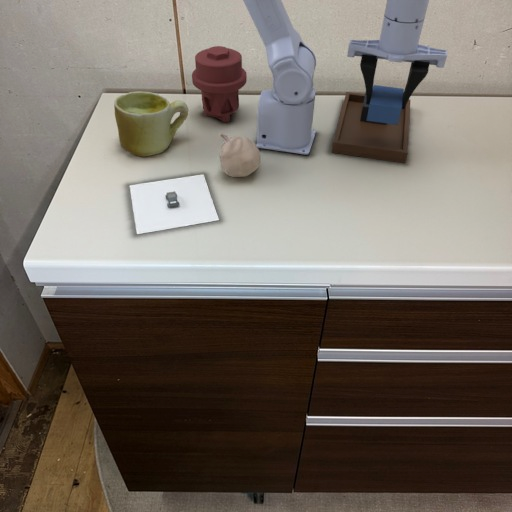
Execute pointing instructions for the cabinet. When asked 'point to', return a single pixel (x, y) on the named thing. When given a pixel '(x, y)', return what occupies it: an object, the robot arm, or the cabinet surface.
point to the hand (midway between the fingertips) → (385, 104)
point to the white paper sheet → (172, 204)
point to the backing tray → (370, 133)
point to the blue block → (385, 104)
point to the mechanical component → (219, 80)
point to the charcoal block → (366, 112)
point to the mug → (147, 122)
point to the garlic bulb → (239, 156)
